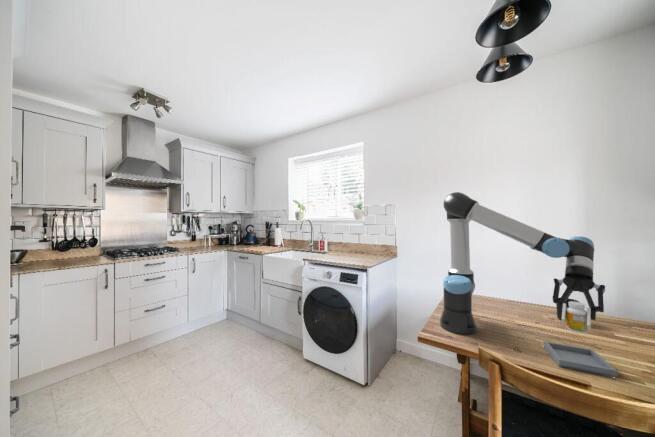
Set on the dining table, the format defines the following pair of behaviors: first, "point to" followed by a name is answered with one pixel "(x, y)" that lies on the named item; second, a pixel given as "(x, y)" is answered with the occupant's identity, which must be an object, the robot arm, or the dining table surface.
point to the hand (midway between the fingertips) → (575, 323)
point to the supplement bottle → (576, 317)
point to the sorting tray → (579, 359)
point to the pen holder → (559, 315)
